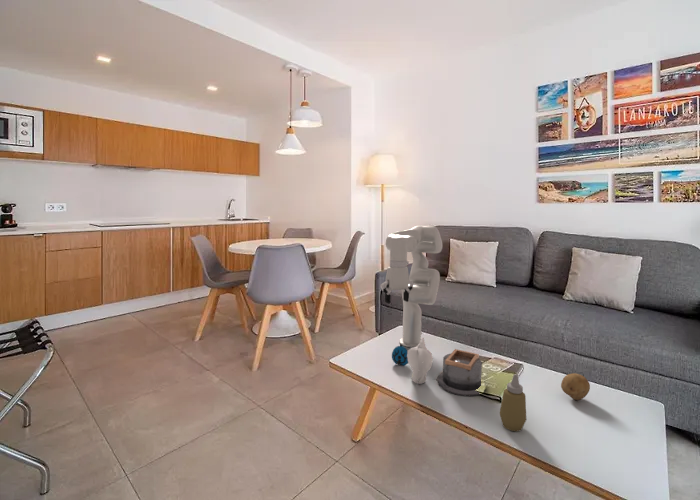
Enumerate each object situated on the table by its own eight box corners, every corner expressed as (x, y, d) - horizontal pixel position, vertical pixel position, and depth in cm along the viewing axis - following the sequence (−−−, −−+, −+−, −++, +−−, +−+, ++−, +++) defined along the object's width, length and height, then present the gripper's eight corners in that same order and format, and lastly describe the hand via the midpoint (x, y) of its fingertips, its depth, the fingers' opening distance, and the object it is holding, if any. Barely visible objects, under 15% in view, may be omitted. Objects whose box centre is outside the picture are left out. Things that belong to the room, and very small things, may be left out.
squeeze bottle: (520, 419, 122) (523, 370, 120) (529, 435, 114) (533, 381, 112) (495, 418, 123) (498, 368, 121) (503, 433, 115) (506, 380, 113)
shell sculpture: (417, 388, 142) (419, 345, 140) (405, 379, 149) (406, 338, 147) (433, 384, 146) (435, 342, 144) (421, 375, 153) (422, 335, 151)
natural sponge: (569, 405, 131) (571, 380, 130) (555, 392, 140) (557, 368, 138) (593, 405, 131) (596, 380, 130) (578, 392, 140) (580, 368, 138)
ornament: (390, 365, 162) (390, 344, 161) (393, 361, 166) (393, 341, 165) (408, 369, 159) (408, 347, 158) (410, 364, 163) (411, 344, 162)
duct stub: (445, 369, 159) (446, 344, 158) (490, 380, 149) (492, 354, 147) (430, 387, 143) (431, 360, 142) (479, 401, 133) (481, 372, 132)
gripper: (409, 262, 166) (407, 298, 168) (377, 264, 159) (376, 301, 160) (419, 264, 159) (417, 302, 161) (386, 266, 152) (384, 305, 154)
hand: (396, 301), depth 161 cm, fingers open, 9 cm apart
